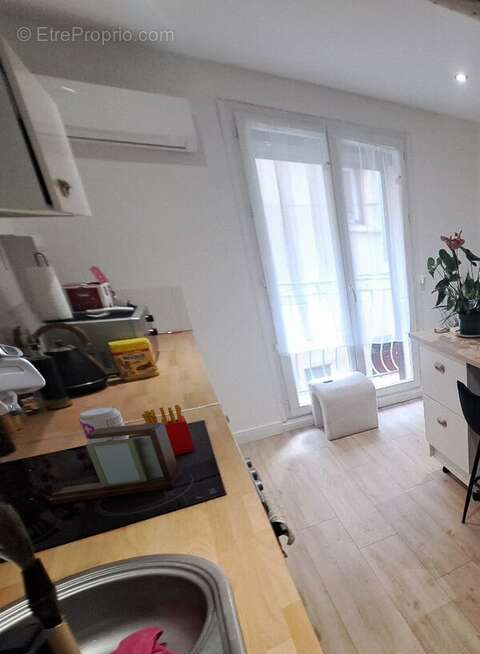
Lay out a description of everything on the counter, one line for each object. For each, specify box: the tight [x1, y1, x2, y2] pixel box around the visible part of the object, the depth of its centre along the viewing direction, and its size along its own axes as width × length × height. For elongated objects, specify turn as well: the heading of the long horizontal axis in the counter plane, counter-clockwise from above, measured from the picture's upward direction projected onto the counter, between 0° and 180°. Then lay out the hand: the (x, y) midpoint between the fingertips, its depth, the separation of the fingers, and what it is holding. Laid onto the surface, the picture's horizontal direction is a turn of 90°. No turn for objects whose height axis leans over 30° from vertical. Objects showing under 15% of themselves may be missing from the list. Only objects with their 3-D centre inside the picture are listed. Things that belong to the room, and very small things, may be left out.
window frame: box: [49, 422, 182, 506], centre depth 103 cm, size 24×6×17 cm, turn 111°
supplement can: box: [78, 406, 130, 443], centre depth 119 cm, size 8×8×15 cm
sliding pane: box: [85, 437, 148, 487], centre depth 103 cm, size 9×1×12 cm, turn 111°
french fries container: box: [141, 404, 196, 457], centre depth 123 cm, size 7×9×14 cm
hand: (11, 412), depth 88 cm, fingers closed
